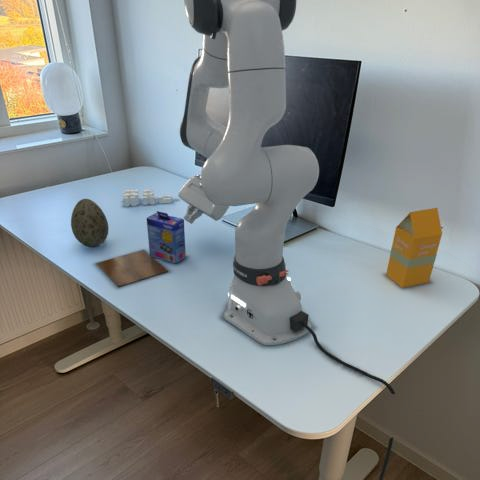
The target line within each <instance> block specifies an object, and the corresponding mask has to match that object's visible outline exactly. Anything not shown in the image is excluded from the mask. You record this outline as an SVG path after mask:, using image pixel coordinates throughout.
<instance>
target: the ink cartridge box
mask: <svg viewBox="0 0 480 480" xmlns="http://www.w3.org/2000/svg"><path fill="white" fill-rule="evenodd" d="M146 228H147V238H148V239H147V240H148V250H149V255H150V256H151V257H152V258H156V259H159V260H162V261H166V262H169V263H173V264H177V263H179V262H181V261H182V260H183V259H185V258H186V257H187V256H186V255H187V254H186V236H185V235H186V234H185V219H184V218H181V217H178V216H172V215H169V214H168V212H163V211H158V210H156V212H154V213H153V214H151V215H148V216H147V217H146Z"/></svg>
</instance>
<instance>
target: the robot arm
mask: <svg viewBox="0 0 480 480" xmlns="http://www.w3.org/2000/svg"><path fill="white" fill-rule="evenodd" d="M183 4H184V10H185V14H186V17H187V19H188V23H189V26H190V27H191V28H192V29H193V30H194V31H195V32H196V33H198V34H201V35H202V42H201V43H202V44H201V45H202V47H201V54H200V55H199V56H198V57H197V58H195V60H194V61H193V63H192V65H191V68H190V72H189V78H188V83H187V89H186V98H185V104H184V111H183V117H182V119H181V122H180V125H179V138H180V140H181V143H182V145H183V146H184V147H186V148H189V149H190V150H192V151H195V152H197V153H198V154H199V155H202V156H203V157H205V158H206V160H205V162H204V164H203V165H202V168H201V172H200V174H196V175H193V176H192V177H190V178H189V179H188V180H187V181H186V182H185V184H183V186H182V187H181V188H180V190H179V191H178V194H177V197H178V198H179V199H180V200H182V201H183V202H184V203H187V205H188V206H187V209H186V212H185V215H184V216H183V220H184V221H186V222H188V223H189V224H191V225H192V224H193V223H194V222H195V221H196V220H197V219H198V218H200V217H202V215H203V214H204V215H205V216H207V217H209V218H211V220H214V221H215V222H218V221H219V220H221V219H222V218H223V217H224V215H225V214H226V213H227V211H228V210H229V208H230V207H241V206H247V205H248V206H249V205H254V204H255V205H254V206H253V208H252V209H251V210H250V211H249V212H248V213H247V214H245V215H244V216H243V217H242V218H240V220H239V221H238V223H237V225H236V227H235V229H234V230H235V231H234V250H235V253H234V256H233V261H232V268H233V278H232V281H231V282H230V285H229V289H228V293H227V296H228V301H227V309H226V310H225V311H224V313H223V319H224V320H225V321H226V322H228V323H230V324H232V325H233V326H234V327H235V328H237V329H239V330H240V331H242V332H243V333H244V334H246V335H247V336H248V337H250V338H252V339H253V340H254V341H256V342H258V343H259V344H260V345H262V346H277V345H284V344H286V343H290V342H293V341H296V340H298V339H300V338H302V337H304V336H306V334H308V333H310V334H311V336H312V337H313V340H314V343H315V345H316V346H317V348H318V349H319V350H320V351H321V352H322V353H323V354H325V356H328V357H329V358H330V359H332V360H334V361H335V362H337V363H338V364H340V365H342V366H344V367H346V368H348V369H350V370H352V371H354V372H357V373H359V374H361V375H363V376H365V377H367V378H369V379H371V380H374V381H376V382H378V383H381V384H382V385H384V386H385V387H386V388H387V389H388V391H389V392H390V394H392V395H396V392H395V391H394V389H393V387H392V386H391V384H390V383H388V382H387V381H386V380H384V379H383V378H381V377H378V376H376V375H373V374H370V373H368V372H366V371H364V370H363V369H360V368H358V367H356V366H354V365H351V364H349V363H348V362H345V361H344V360H342V359H340V358H338V357H337V356H335V355H333V354H332V353H330V352H329V351H327V350H326V349H325V348H324V347H323V346H322V344H320V342H319V339H318V337H317V334H316V332H314V330H313V329H312V322H311V321H310V320H309V313H307V312H305V311H303V306H302V303H301V299H302V295H301V293H300V291H295V289H294V287H293V286H292V281H291V279H292V278H291V277H287V276H288V275H289V273H288V272H289V269H287V268H286V262H285V258H284V255H283V254H284V245H285V244H284V243H285V236H286V230H287V226H288V223H289V221H290V218H291V217H292V214H293V213H294V211H295V209H296V208H297V206H298V205H299V203H301V201H302V200H303V199H304V198H305V197H306V196H307V195H308V194H309V193H310V192H312V191H313V190H314V189H315V186H316V185H317V183H318V180H319V176H320V166H319V161H318V158H317V156H316V155H315V152H313V150H312V149H311V148H309V147H307V146H301V145H293V144H281V145H274V146H273V145H272V146H263V147H262V143H263V139H264V137H265V134H266V133H267V132H268V130H269V129H271V128H273V127H274V126H276V124H278V123H279V122H280V121H281V120H282V118H283V117H284V115H285V112H286V110H287V86H286V85H287V81H286V80H287V79H286V77H287V76H286V53H285V43H284V42H285V41H284V35H283V31H285V30H287V29H288V28H289V26H290V25H291V24H292V22H293V21H294V18H295V15H296V10H297V0H183ZM227 88H228V119H227V125H226V126H225V125H223V124H222V123H220V122H218V121H217V120H215V119H214V118H212V117H211V116H210V115H209V114H208V112H207V104H208V99H209V94H210V93H209V92H210V89H227ZM393 441H394V436H392V437H390V438H389V439H388V444H387V450H386V454H385V457H384V460H383V465H382V469H381V471H380V475H379V478H378V480H383V479H384V476H385V473H386V470H387V467H388V463H389V459H390V455H391V452H392V447H393V443H394V442H393Z"/></svg>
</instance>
